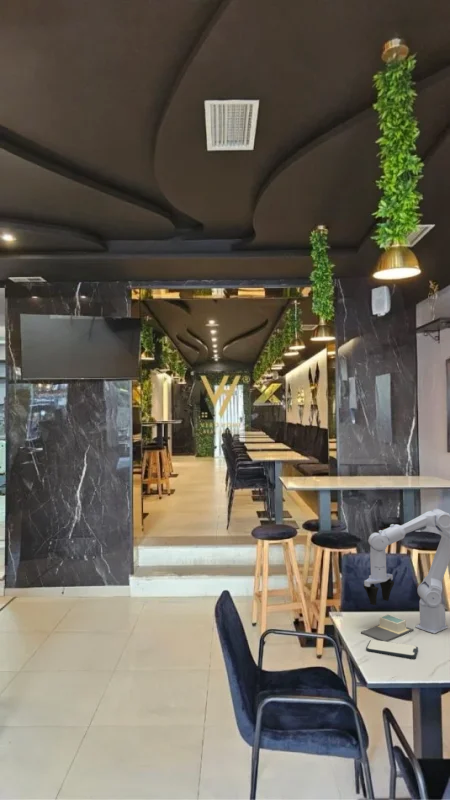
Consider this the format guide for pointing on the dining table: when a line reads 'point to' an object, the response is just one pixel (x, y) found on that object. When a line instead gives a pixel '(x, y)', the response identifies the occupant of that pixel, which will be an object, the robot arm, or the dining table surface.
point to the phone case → (392, 649)
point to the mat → (384, 633)
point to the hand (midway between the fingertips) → (379, 602)
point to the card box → (392, 623)
